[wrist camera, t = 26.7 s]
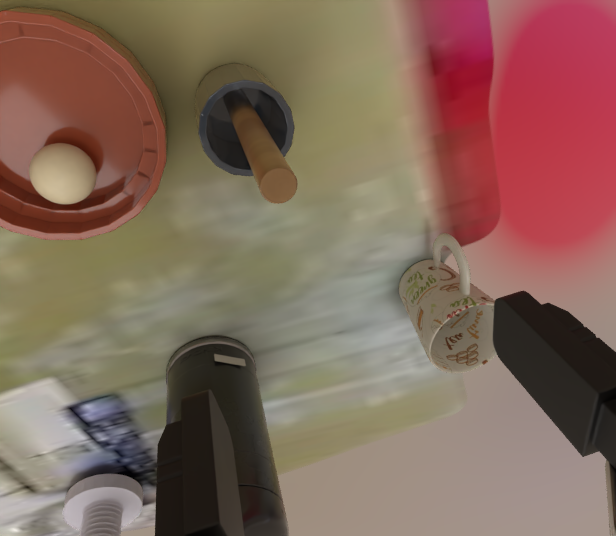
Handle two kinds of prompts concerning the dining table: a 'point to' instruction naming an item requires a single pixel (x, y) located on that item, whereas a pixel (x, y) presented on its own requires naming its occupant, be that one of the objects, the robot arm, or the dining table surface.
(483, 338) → the mug
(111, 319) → the dining table surface
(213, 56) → the dining table surface
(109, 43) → the bowl
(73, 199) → the dough ball
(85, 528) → the screw
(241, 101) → the stick
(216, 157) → the tube
